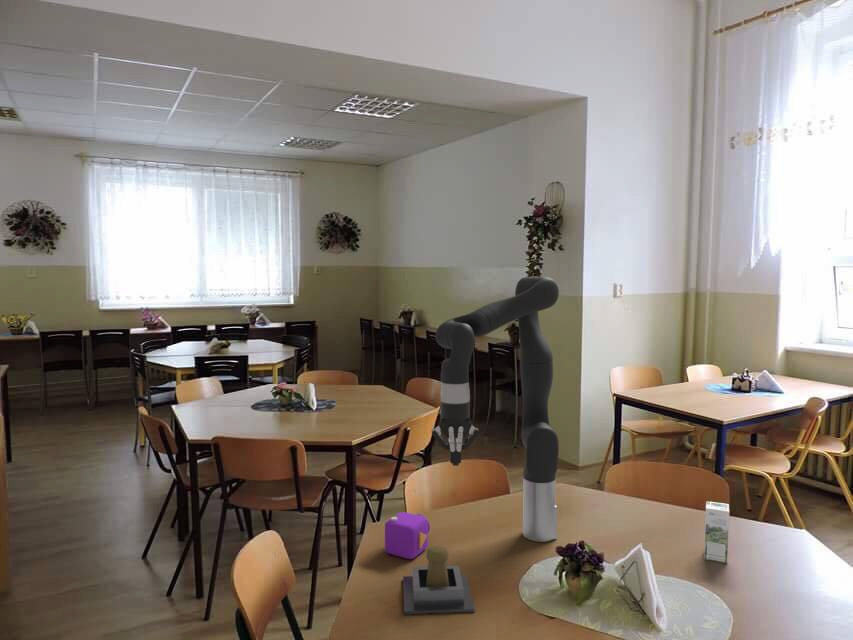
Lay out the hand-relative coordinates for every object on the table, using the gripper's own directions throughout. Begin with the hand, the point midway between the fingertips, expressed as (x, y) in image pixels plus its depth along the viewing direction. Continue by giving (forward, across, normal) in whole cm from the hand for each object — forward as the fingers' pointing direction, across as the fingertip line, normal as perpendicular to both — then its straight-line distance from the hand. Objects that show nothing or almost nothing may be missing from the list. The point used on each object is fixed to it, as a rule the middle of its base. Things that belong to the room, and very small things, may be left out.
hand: (455, 464), depth 163 cm
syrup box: (+27, -70, +1) cm, 75 cm away
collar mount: (+27, +6, +15) cm, 31 cm away
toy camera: (+27, +12, -10) cm, 31 cm away
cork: (+26, +6, +15) cm, 31 cm away
